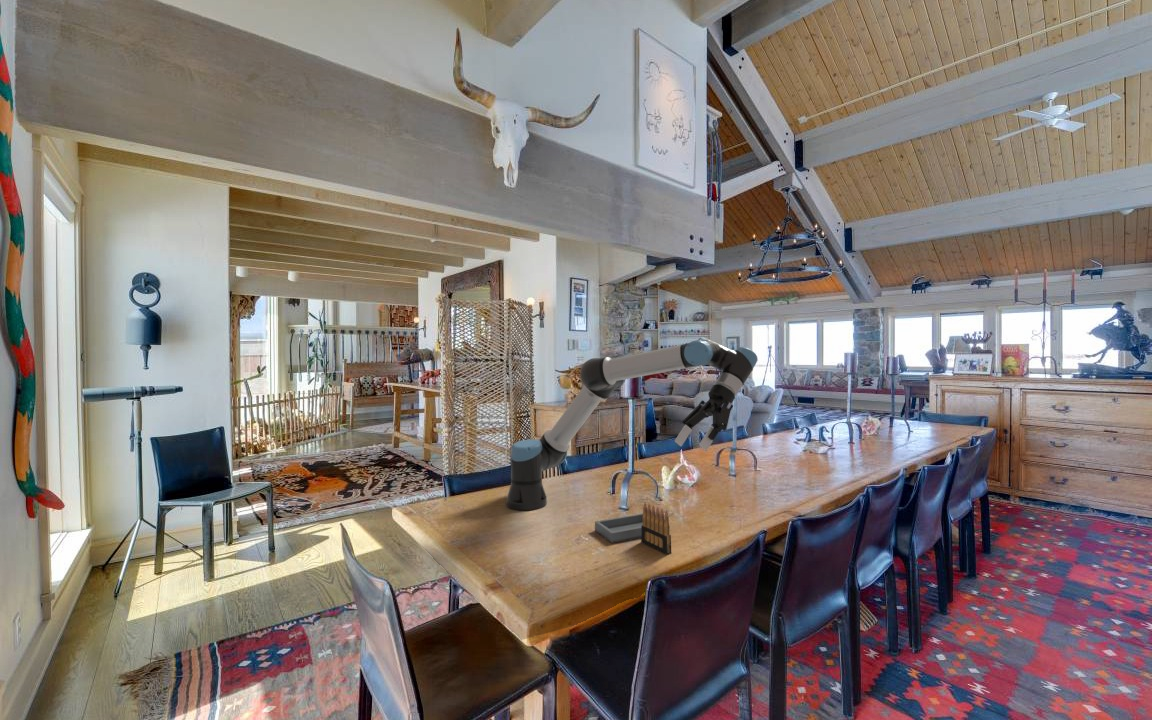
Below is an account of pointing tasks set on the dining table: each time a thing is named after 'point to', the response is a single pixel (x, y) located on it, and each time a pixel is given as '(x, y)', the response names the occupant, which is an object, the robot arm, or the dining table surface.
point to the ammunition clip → (656, 529)
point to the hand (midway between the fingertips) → (689, 445)
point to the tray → (620, 528)
